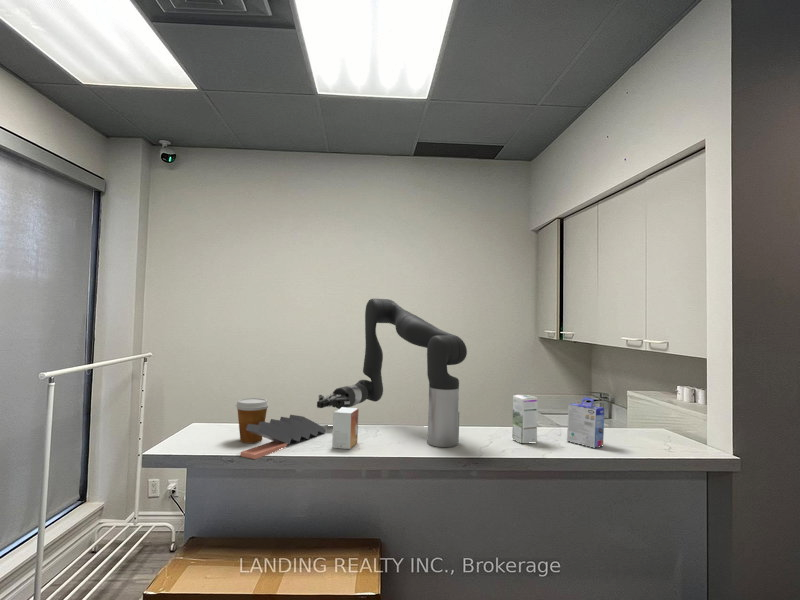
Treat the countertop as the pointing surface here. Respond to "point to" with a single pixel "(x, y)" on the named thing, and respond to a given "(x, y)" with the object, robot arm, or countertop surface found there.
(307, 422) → the domino
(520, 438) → the syrup box
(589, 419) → the ink cartridge box
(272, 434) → the domino
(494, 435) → the countertop surface
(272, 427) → the domino
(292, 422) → the domino
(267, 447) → the domino
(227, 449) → the countertop surface
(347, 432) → the small box
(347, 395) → the robot arm
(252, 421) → the disposable coffee cup
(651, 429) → the countertop surface
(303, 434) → the domino
